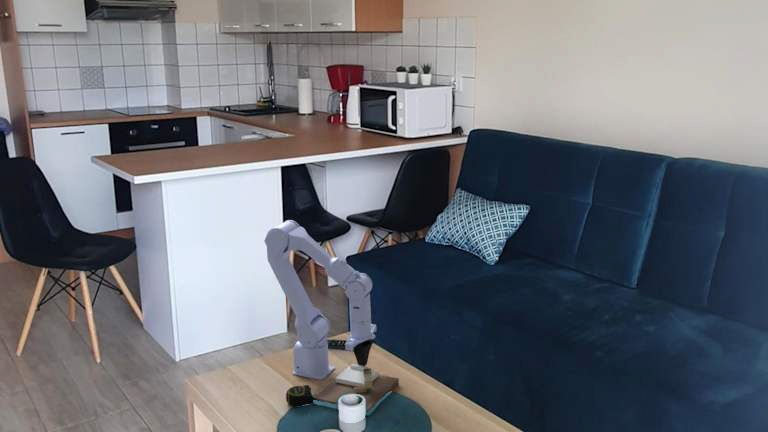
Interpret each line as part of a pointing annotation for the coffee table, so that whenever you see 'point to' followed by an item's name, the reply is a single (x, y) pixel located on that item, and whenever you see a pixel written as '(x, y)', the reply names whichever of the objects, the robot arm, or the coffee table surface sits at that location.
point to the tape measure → (299, 395)
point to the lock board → (377, 392)
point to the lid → (355, 375)
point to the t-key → (366, 382)
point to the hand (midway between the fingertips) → (362, 364)
